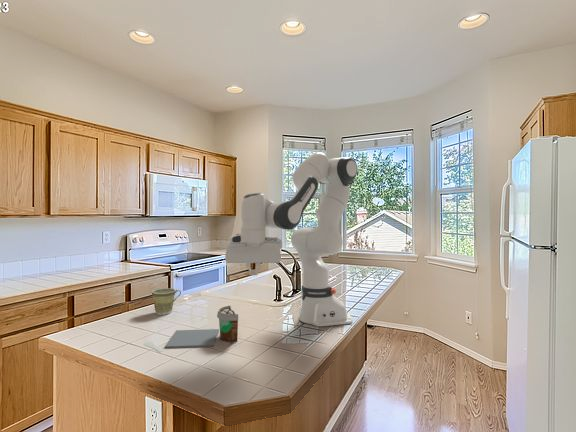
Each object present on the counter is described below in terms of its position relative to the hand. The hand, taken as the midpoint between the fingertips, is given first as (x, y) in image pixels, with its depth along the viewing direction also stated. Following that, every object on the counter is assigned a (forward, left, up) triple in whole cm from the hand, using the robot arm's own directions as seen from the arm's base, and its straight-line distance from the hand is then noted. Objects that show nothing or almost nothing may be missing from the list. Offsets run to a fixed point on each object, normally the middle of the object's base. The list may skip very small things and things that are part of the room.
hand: (253, 275), depth 120 cm
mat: (+21, 0, -23) cm, 31 cm away
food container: (+10, 0, -23) cm, 25 cm away
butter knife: (+29, +11, -23) cm, 39 cm away
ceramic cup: (+40, -33, -23) cm, 57 cm away
